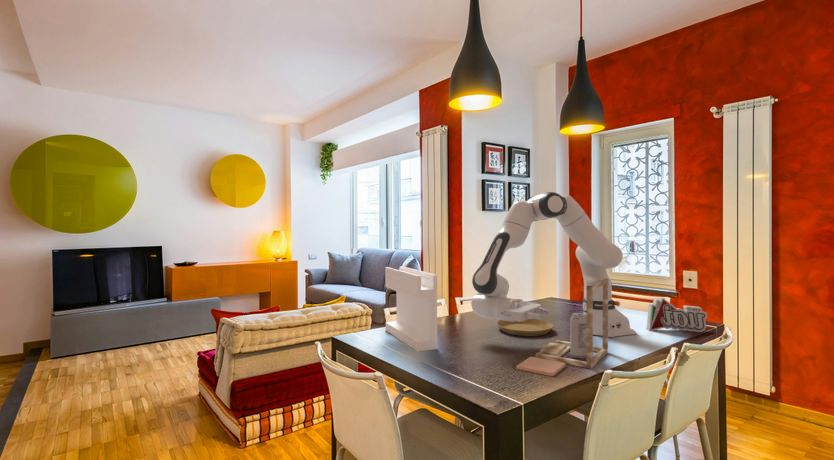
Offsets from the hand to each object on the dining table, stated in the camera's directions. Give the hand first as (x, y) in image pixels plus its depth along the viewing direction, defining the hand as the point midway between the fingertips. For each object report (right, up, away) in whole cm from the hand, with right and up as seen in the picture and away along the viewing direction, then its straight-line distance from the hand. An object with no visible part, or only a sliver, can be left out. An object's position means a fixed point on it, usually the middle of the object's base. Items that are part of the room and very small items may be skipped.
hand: (544, 314), depth 162 cm
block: (-51, -13, +17) cm, 55 cm away
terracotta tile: (-7, -14, -19) cm, 24 cm away
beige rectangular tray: (+3, -13, -2) cm, 14 cm away
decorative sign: (+66, -13, +29) cm, 73 cm away
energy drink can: (+10, -14, -7) cm, 18 cm away
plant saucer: (0, -13, +30) cm, 33 cm away
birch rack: (+8, -13, -6) cm, 17 cm away
